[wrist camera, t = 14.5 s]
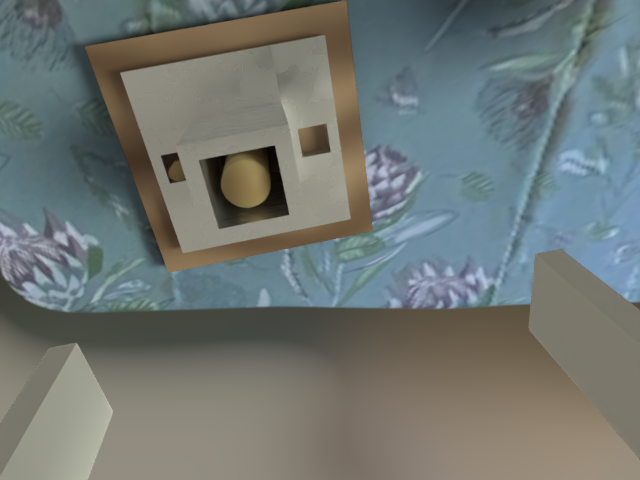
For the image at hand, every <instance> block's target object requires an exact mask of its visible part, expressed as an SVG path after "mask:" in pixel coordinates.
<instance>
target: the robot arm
mask: <svg viewBox="0 0 640 480" xmlns="http://www.w3.org/2000/svg"><path fill="white" fill-rule="evenodd" d="M529 330H530V331H531V333H532V334H533V335H534V336H535V337H536V338H537V340H538V341H539V342H540V343H541V344H542V345H543V346H544V348H545V349H546V350H547V351H548V353H549V354H550V355H551V356H552V357H553V358H554V359H555V361H556V362H557V363H558V364H559V365H560V367H561V368H562V369H563V370H564V371H565V372H566V374H567V375H568V376H569V377H570V378H571V379H572V381H573V382H574V383H575V384H576V385H577V386H578V388H579V389H580V390H581V391H582V392H583V394H584V395H585V396H586V397H587V398H588V399H589V400H590V402H591V403H592V404H593V405H594V406H595V408H596V409H597V410H598V411H599V412H600V413H601V415H602V416H603V417H604V418H605V419H606V420H607V422H608V423H609V424H610V425H611V426H612V427H613V429H614V430H615V431H616V432H617V433H618V434H619V436H620V437H621V438H622V439H623V440H624V442H625V443H626V444H627V445H628V446H629V447H630V449H631V450H632V451H633V452H634V453H635V454H636V456H637V457H638V458H639V459H640V310H639V309H638V308H636V307H635V306H634V305H633V304H631V303H630V302H629V301H627V300H626V299H625V298H624V297H622V296H621V295H620V294H618V293H617V292H616V291H614V290H613V289H612V288H611V287H609V286H608V285H607V284H605V283H604V282H603V281H602V280H600V279H599V278H598V277H596V276H595V275H594V274H593V273H591V272H590V271H589V270H587V269H586V268H585V267H584V266H582V265H581V264H580V263H578V262H577V261H576V260H574V259H573V258H572V257H571V256H569V255H568V254H567V253H565V252H564V251H563V250H562V249H558V250H553V251H548V252H543V253H538V254H535V262H534V273H533V285H532V296H531V308H530V319H529ZM112 414H113V411H112V409H111V407H110V405H109V403H108V401H107V399H106V397H105V395H104V393H103V392H102V390H101V388H100V386H99V384H98V382H97V380H96V378H95V376H94V374H93V373H92V371H91V369H90V367H89V365H88V363H87V361H86V360H85V358H84V355H83V354H82V352H81V350H80V348H79V346H78V345H77V343H73V344H67V345H63V346H57V347H52V348H49V349H48V351H47V352H46V354H45V355H44V357H43V358H42V360H41V361H40V363H39V364H38V366H37V367H36V369H35V371H34V372H33V374H32V375H31V377H30V378H29V380H28V381H27V383H26V384H25V386H24V387H23V389H22V391H21V392H20V394H19V395H18V397H17V398H16V400H15V401H14V403H13V404H12V406H11V407H10V409H9V410H8V412H7V414H6V415H5V417H4V418H3V420H2V421H1V423H0V480H88V477H89V474H90V472H91V469H92V467H93V464H94V461H95V459H96V456H97V453H98V451H99V448H100V446H101V443H102V440H103V438H104V435H105V432H106V430H107V427H108V425H109V422H110V419H111V417H112Z"/></svg>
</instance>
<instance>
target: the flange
mask: <svg viewBox="0 0 640 480" xmlns="http://www.w3.org/2000/svg"><path fill="white" fill-rule="evenodd" d="M120 74H121V77H122V80H123V83H124V86H125V89H126V91H127V94H128V97H129V100H130V103H131V106H132V109H133V112H134V114H135V117H136V120H137V123H138V126H139V129H140V132H141V134H142V137H143V140H144V143H145V146H146V149H147V152H148V155H149V157H150V160H151V163H152V166H153V169H154V172H155V175H156V178H157V180H158V183H159V186H160V189H161V192H162V195H163V198H164V201H165V203H166V206H167V209H168V212H169V215H170V218H171V221H172V223H173V226H174V229H175V232H176V235H177V238H178V241H179V244H180V246H181V249H182V252H183V253H187V252H192V251H197V250H202V249H207V248H212V247H217V246H222V245H226V244H231V243H236V242H241V241H246V240H251V239H256V238H261V237H266V236H271V235H276V234H280V233H285V232H290V231H295V230H300V229H305V228H310V227H315V226H320V225H325V224H329V223H334V222H339V221H344V220H349V219H351V217H350V210H349V203H348V196H347V189H346V182H345V175H344V167H343V160H342V153H341V146H340V139H339V132H338V125H337V118H336V111H335V104H334V96H333V89H332V82H331V75H330V68H329V61H328V54H327V47H326V40H325V35H319V36H313V37H308V38H302V39H297V40H291V41H286V42H280V43H275V44H269V45H264V46H259V47H253V48H248V49H242V50H237V51H231V52H226V53H220V54H215V55H209V56H204V57H199V58H193V59H188V60H182V61H177V62H171V63H166V64H160V65H155V66H149V67H144V68H139V69H133V70H128V71H123V72H121V73H120ZM321 124H325V129H326V135H327V142H328V148H327V149H322V150H317V151H311V152H306V153H302V151H301V146H300V140H299V135H298V129H301V128H306V127H311V126H316V125H321ZM274 145H275V148H276V153H277V158H278V162H279V167H280V172H275V173H270V182H271V188H270V192H269V195H268V196H267V198H266V199H265V200H264V201H263V202H262V203H261V204H259V205H257V206H254V207H250V208H243V207H239V206H236V205H234V204H232V203H231V202H230V201H228V200H227V198H226V197H225V196H224V194H223V192H222V188H221V179H222V175H223V170H224V169H223V165H222V162H221V158H220V156H222V155H227V154H233V153H238V152H243V151H248V150H253V149H258V148H264V147H269V146H274ZM176 152H177V153H178V156H179V159H180V163H181V166H182V169H183V172H184V175H185V178H184V180H182V181H179V182H177V181H174V180H172V179H171V178H170V176H169V166H168V163H167V160H166V157H165V155H166V154H171V153H176Z"/></svg>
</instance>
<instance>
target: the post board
mask: <svg viewBox="0 0 640 480" xmlns="http://www.w3.org/2000/svg"><path fill="white" fill-rule="evenodd" d="M319 35H325V40H326V47H327V54H328V61H329V68H330V75H331V82H332V89H333V96H334V104H335V111H336V118H337V125H338V132H339V139H340V146H341V153H342V160H343V167H344V175H345V182H346V189H347V196H348V203H349V210H350V217H351V219H349V220H344V221H339V222H334V223H329V224H325V225H320V226H315V227H310V228H305V229H300V230H295V231H290V232H285V233H280V234H276V235H271V236H266V237H261V238H256V239H251V240H246V241H241V242H236V243H231V244H226V245H222V246H217V247H212V248H207V249H202V250H197V251H192V252H187V253H183V252H182V249H181V246H180V244H179V241H178V238H177V235H176V232H175V229H174V226H173V223H172V221H171V218H170V215H169V212H168V209H167V206H166V203H165V201H164V198H163V195H162V192H161V189H160V186H159V183H158V180H157V178H156V175H155V172H154V169H153V166H152V163H151V160H150V157H149V155H148V152H147V149H146V146H145V143H144V140H143V137H142V134H141V132H140V129H139V126H138V123H137V120H136V117H135V114H134V112H133V109H132V106H131V103H130V100H129V97H128V94H127V91H126V89H125V86H124V83H123V80H122V77H121V74H120V73H121V72H123V71H128V70H133V69H139V68H144V67H149V66H155V65H160V64H166V63H171V62H177V61H182V60H188V59H193V58H199V57H204V56H209V55H215V54H220V53H226V52H231V51H237V50H242V49H248V48H253V47H259V46H264V45H269V44H275V43H280V42H286V41H291V40H297V39H302V38H308V37H313V36H319ZM84 47H85V49H86V52H87V55H88V57H89V60H90V63H91V66H92V68H93V71H94V74H95V76H96V79H97V82H98V84H99V87H100V90H101V92H102V95H103V98H104V101H105V103H106V106H107V109H108V111H109V114H110V117H111V119H112V122H113V125H114V127H115V130H116V133H117V136H118V138H119V141H120V144H121V146H122V149H123V152H124V154H125V157H126V160H127V162H128V165H129V168H130V170H131V173H132V176H133V179H134V181H135V184H136V187H137V189H138V192H139V195H140V197H141V200H142V203H143V205H144V208H145V211H146V214H147V216H148V219H149V222H150V224H151V227H152V230H153V232H154V235H155V238H156V240H157V243H158V246H159V249H160V251H161V254H162V257H163V259H164V262H165V265H166V267H167V270H168V273H169V272H174V271H179V270H184V269H189V268H194V267H199V266H204V265H209V264H214V263H218V262H223V261H228V260H233V259H238V258H243V257H248V256H253V255H258V254H263V253H268V252H273V251H277V250H282V249H287V248H292V247H297V246H302V245H307V244H312V243H317V242H322V241H327V240H331V239H336V238H341V237H346V236H351V235H356V234H361V233H366V232H371V231H373V228H372V219H371V211H370V202H369V193H368V184H367V176H366V167H365V158H364V149H363V141H362V132H361V123H360V114H359V106H358V97H357V88H356V79H355V71H354V62H353V53H352V44H351V36H350V27H349V18H348V9H347V1H346V0H344V1H338V2H333V3H327V4H321V5H316V6H310V7H304V8H299V9H293V10H288V11H282V12H276V13H271V14H265V15H259V16H254V17H248V18H242V19H237V20H231V21H225V22H220V23H214V24H209V25H203V26H197V27H192V28H186V29H180V30H175V31H169V32H163V33H158V34H152V35H147V36H141V37H135V38H130V39H124V40H118V41H113V42H107V43H101V44H96V45H90V46H84ZM298 135H299V140H300V146H301V151H302V153H306V152H311V151H317V150H322V149H327V148H328V142H327V135H326V129H325V124H321V125H316V126H311V127H306V128H301V129H298ZM165 157H166V160H167V163H168V166H169V176H170V178H171V179H172V180H174V181H177V182H179V181H182V180H184V178H185V175H184V172H183V169H182V166H181V163H180V159H179V156H178V153H177V152H176V153H171V154H166V155H165ZM220 158H221V162H222V165H223V169H224V170H223V175H222V179H221V188H222V192H223V194H224V196H225V197H226V198H227V200H228V201H230V202H231V203H232V204H234V205H236V206H239V207H243V208H250V207H254V206H257V205H259V204H261V203H262V202H263V201H264V200H265V199H266V198H267V196H268V195H269V192H270V188H271V182H270V173H275V172H280V167H279V162H278V158H277V153H276V148H275V145H274V146H269V147H264V148H258V149H253V150H248V151H243V152H238V153H233V154H227V155H222V156H220Z"/></svg>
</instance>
